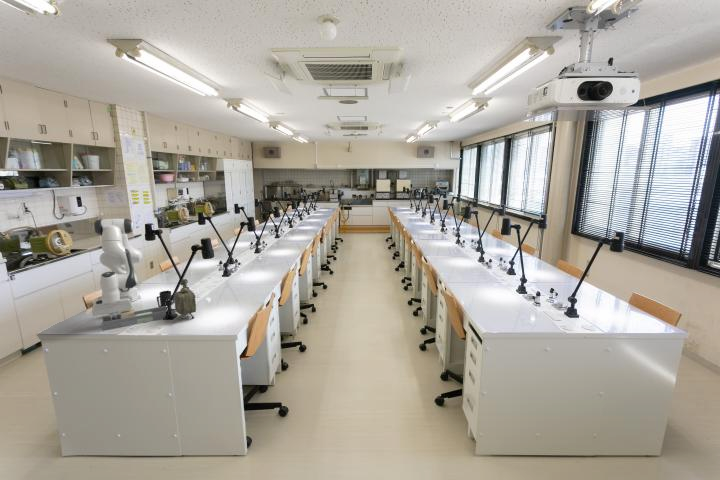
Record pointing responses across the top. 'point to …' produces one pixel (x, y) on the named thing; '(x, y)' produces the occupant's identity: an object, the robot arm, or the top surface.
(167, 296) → the black mug
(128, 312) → the maple block
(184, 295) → the olive backpack
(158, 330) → the top surface
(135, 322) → the trap lane
